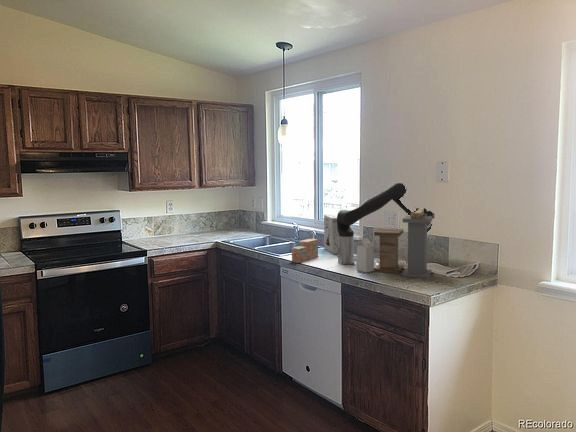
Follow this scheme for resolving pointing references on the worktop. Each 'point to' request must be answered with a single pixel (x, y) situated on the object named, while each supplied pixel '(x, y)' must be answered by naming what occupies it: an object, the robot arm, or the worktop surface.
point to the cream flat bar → (417, 214)
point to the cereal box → (331, 233)
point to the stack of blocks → (305, 251)
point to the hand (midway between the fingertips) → (421, 209)
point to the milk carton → (365, 256)
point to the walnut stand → (388, 250)
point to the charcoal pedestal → (417, 247)
